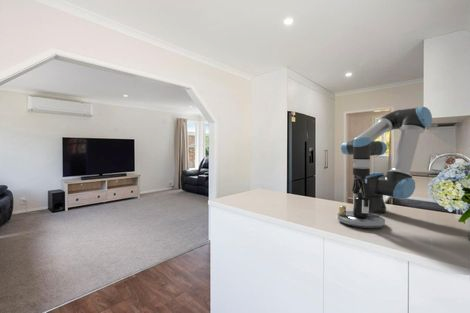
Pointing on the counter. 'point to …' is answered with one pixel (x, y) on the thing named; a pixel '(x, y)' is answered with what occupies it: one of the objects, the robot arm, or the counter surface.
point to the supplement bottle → (359, 206)
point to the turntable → (360, 219)
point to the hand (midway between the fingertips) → (360, 209)
